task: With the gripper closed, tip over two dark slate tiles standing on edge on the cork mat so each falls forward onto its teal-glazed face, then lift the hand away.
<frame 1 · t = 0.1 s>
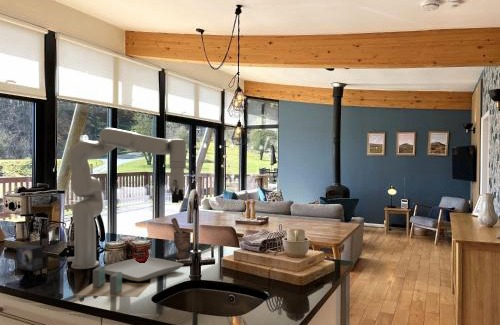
hand: (177, 201, 196), 31 cm above the counter, tool pointing down, fingers open, 9 cm apart
cork mat: (114, 290, 163), on the counter
square plate: (141, 274, 186), on the counter, touching cork mat
tile a: (99, 285, 167), point 1 cm above the counter, touching cork mat
small box: (29, 269, 195), on the counter
mortar and pestle: (179, 257, 217), on the counter
tile b: (116, 292, 159), point 1 cm above the counter, touching cork mat
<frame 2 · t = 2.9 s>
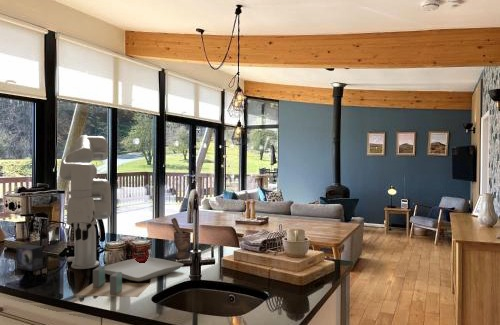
hand: (81, 239, 168), 19 cm above the counter, tool pointing down, fingers closed
nothing on the counter moved.
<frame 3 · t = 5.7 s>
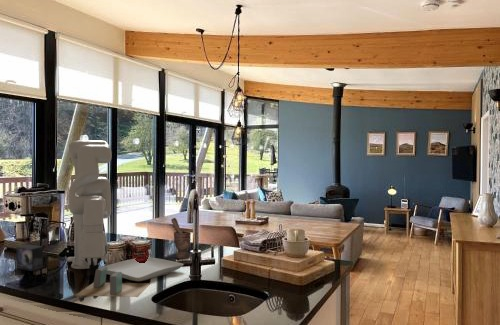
hand: (93, 274, 167), 5 cm above the counter, tool pointing down, fingers closed
tile a: (99, 285, 167), point 1 cm above the counter, tilted 10°, touching cork mat
everything else where it was.
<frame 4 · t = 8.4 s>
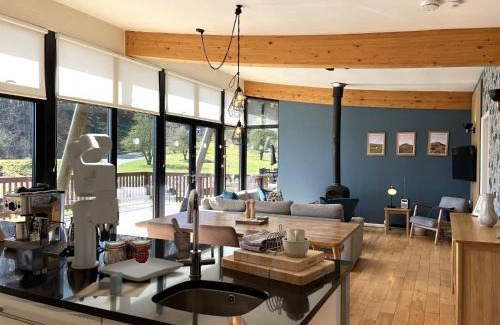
hand: (105, 240, 167), 19 cm above the counter, tool pointing down, fingers closed
tile a: (101, 282, 167), point 2 cm above the counter, tilted 90°, touching cork mat
everything else where it was.
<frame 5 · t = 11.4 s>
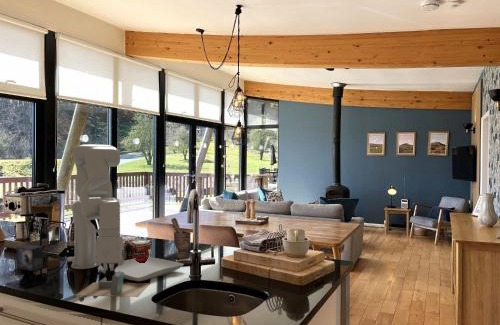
hand: (110, 280, 159), 5 cm above the counter, tool pointing down, fingers closed
tile b: (116, 291, 159), point 1 cm above the counter, tilted 8°, touching cork mat
everything else where it was.
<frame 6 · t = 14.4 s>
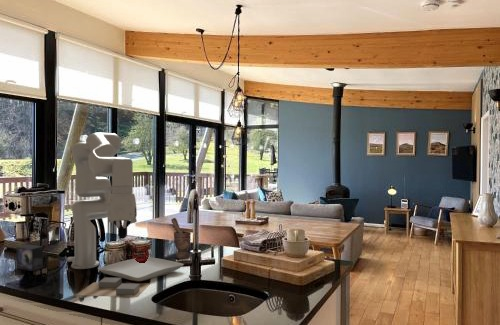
hand: (122, 237, 160), 21 cm above the counter, tool pointing down, fingers closed
tile b: (119, 289, 159), point 2 cm above the counter, tilted 90°, touching cork mat
everything else where it was.
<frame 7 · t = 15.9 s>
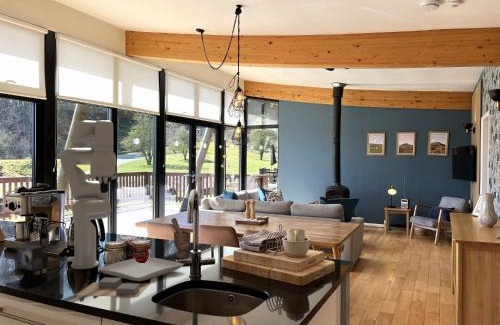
hand: (104, 192, 177), 37 cm above the counter, tool pointing down, fingers closed
nothing on the counter moved.
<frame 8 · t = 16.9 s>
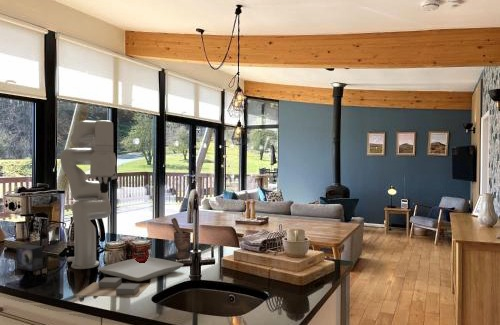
hand: (104, 192, 177), 37 cm above the counter, tool pointing down, fingers closed
nothing on the counter moved.
at the end: tile a tilted 90°; tile b tilted 90°; tile a inside the target area (8.0 cm from its centre), point 1.8 cm above the counter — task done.
